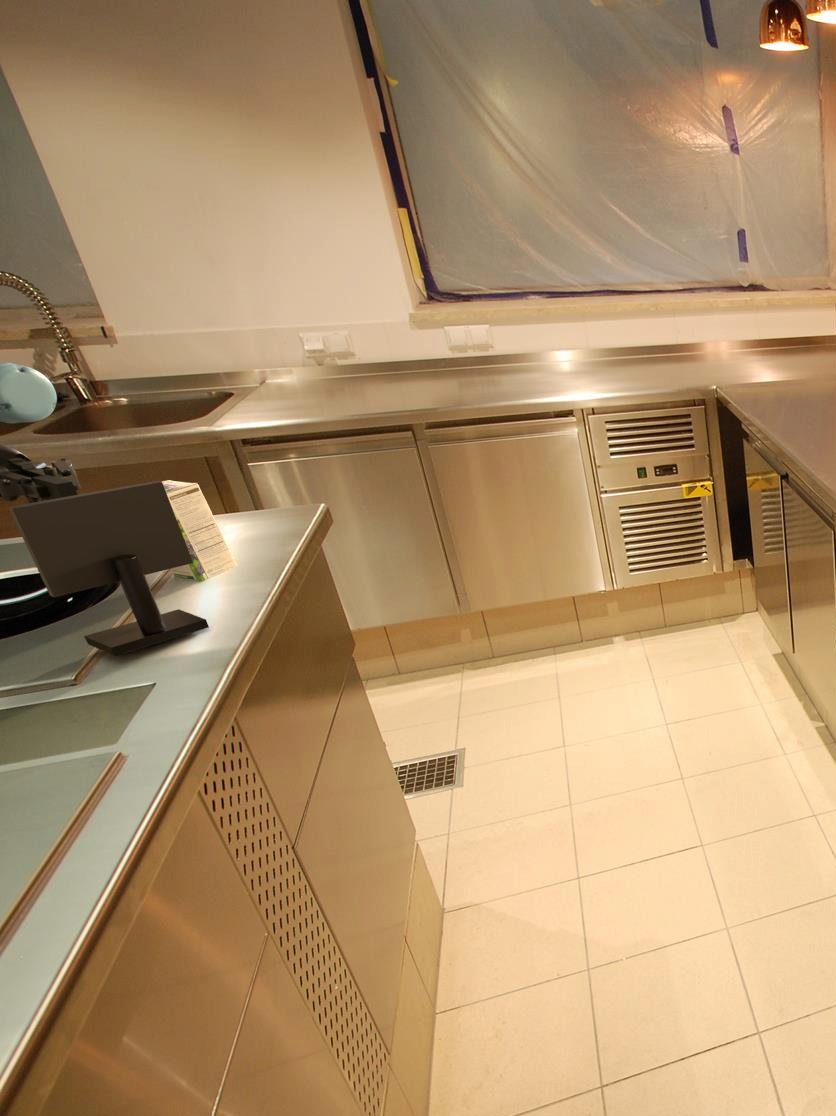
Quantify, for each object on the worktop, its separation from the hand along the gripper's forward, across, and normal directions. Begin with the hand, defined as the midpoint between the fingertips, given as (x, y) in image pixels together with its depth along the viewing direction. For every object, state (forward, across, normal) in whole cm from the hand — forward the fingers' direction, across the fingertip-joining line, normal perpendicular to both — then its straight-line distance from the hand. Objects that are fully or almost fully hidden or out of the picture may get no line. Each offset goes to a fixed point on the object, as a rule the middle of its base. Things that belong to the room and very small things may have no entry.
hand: (68, 493), depth 104 cm
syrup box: (-10, -14, -18) cm, 25 cm away
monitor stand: (+7, 0, -18) cm, 19 cm away
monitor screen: (+7, 0, -10) cm, 12 cm away
